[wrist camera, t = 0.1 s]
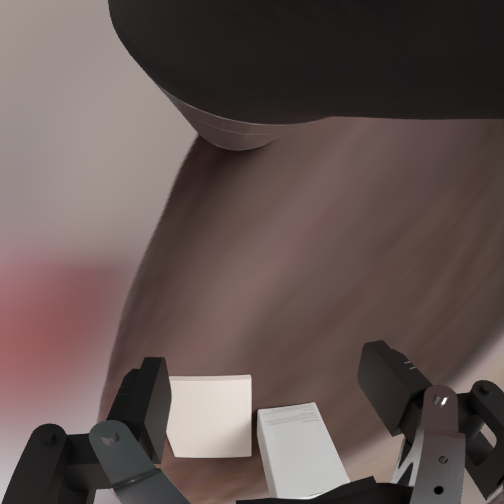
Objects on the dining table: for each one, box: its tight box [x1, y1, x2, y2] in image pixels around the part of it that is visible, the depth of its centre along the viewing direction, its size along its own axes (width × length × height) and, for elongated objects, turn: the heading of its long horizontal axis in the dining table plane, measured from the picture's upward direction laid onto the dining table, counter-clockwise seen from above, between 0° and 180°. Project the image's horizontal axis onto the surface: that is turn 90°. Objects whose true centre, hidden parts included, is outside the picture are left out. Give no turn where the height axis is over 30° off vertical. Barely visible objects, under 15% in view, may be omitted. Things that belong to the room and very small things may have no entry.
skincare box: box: [257, 402, 350, 499], centre depth 28 cm, size 8×6×15 cm
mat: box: [166, 375, 251, 458], centre depth 33 cm, size 18×12×1 cm, turn 0°
